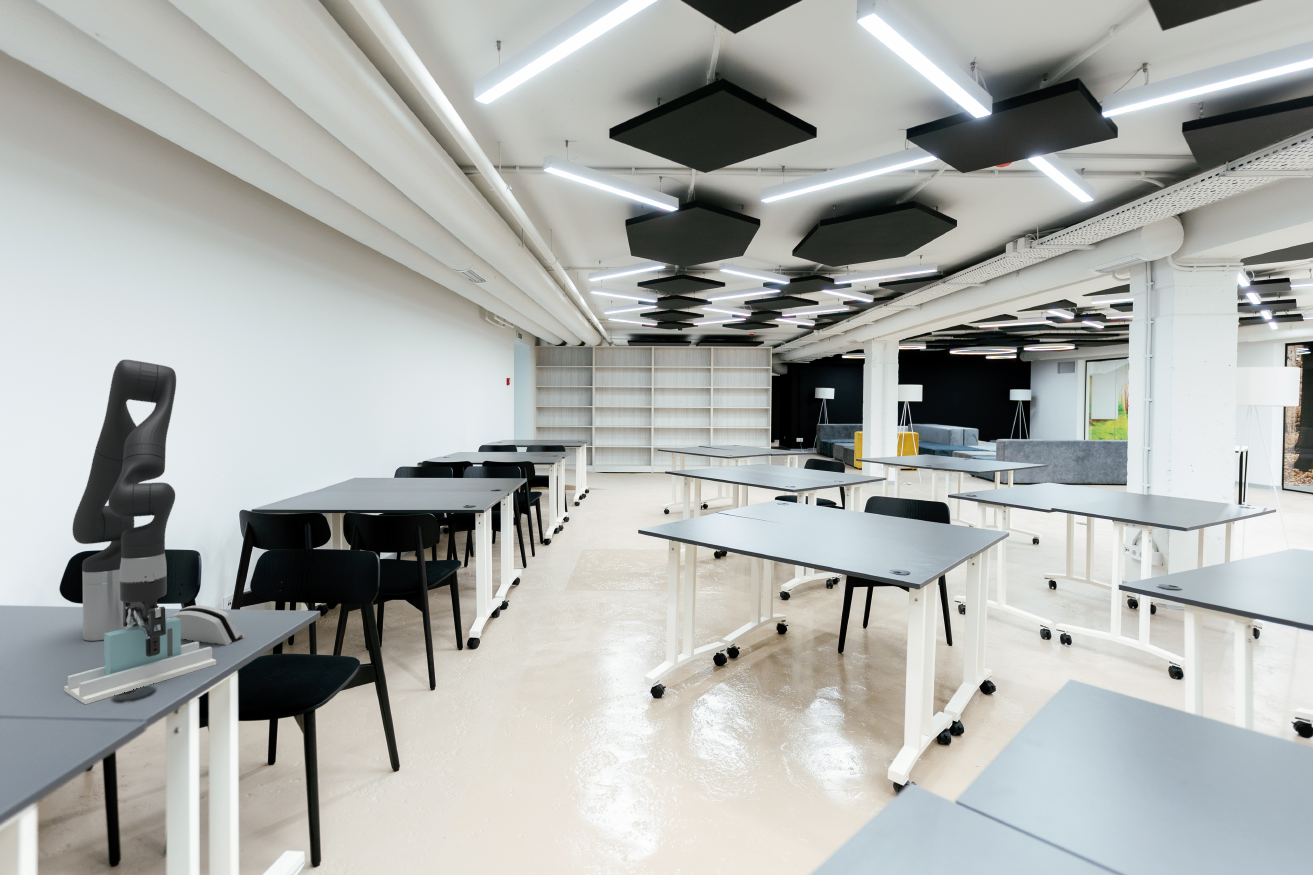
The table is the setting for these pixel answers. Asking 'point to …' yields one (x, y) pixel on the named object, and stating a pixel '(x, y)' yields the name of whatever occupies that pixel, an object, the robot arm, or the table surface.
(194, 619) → the grey arched block
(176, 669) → the door track
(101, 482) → the robot arm
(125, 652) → the door panel
